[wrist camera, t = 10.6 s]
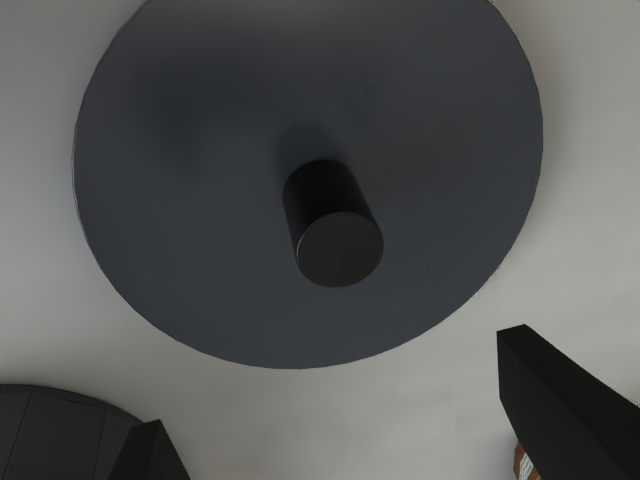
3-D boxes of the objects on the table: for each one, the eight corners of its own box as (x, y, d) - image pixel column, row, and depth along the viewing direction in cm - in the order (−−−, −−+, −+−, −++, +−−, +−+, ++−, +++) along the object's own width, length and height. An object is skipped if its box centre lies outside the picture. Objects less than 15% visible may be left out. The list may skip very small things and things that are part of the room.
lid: (-25, 32, 16) (-97, 83, 12) (501, -149, 16) (595, -156, 12) (191, 396, 24) (189, 495, 20) (544, 278, 24) (609, 356, 20)
